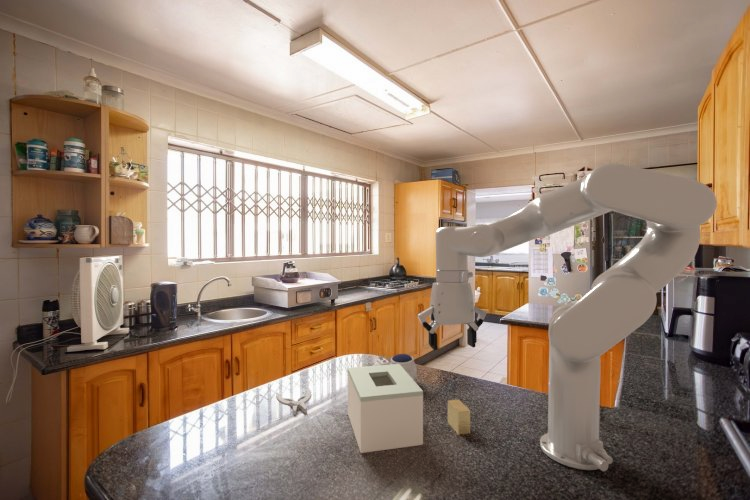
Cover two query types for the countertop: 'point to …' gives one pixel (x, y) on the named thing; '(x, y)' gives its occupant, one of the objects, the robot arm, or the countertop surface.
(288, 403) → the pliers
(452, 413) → the block
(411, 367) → the toy
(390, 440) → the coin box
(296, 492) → the countertop surface
